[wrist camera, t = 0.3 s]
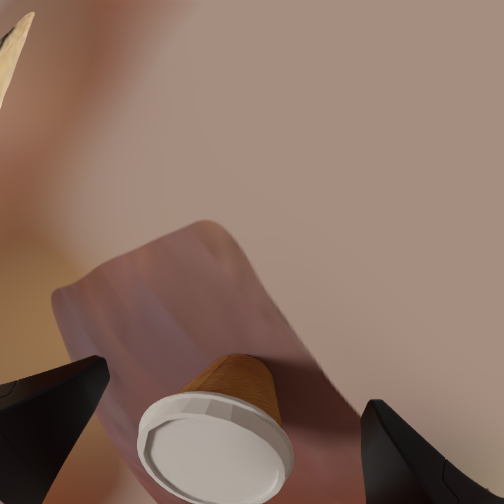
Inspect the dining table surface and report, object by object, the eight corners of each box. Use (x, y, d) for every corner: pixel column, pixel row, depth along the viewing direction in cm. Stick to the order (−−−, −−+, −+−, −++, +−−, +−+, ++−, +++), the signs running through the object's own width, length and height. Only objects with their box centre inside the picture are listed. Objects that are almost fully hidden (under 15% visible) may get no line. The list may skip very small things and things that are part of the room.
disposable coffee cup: (245, 315, 23) (208, 371, 11) (312, 390, 22) (328, 481, 11) (171, 371, 24) (103, 437, 12) (235, 437, 23) (208, 523, 11)
